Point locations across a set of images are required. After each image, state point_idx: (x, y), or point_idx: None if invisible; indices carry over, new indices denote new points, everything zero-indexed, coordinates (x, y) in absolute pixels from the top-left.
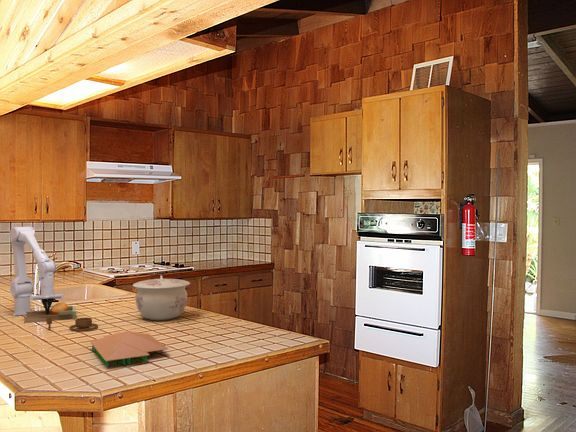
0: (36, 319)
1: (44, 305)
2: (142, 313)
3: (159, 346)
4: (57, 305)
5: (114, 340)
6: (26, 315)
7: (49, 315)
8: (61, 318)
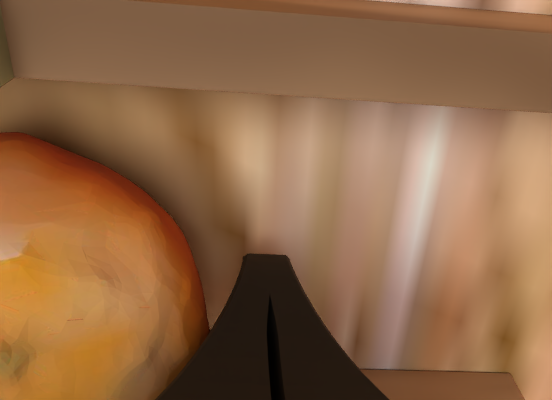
0: (490, 19)
1: (347, 377)
2: None
3: None
4: (23, 378)
5: None
6: (521, 396)
7: (230, 32)
8: None
